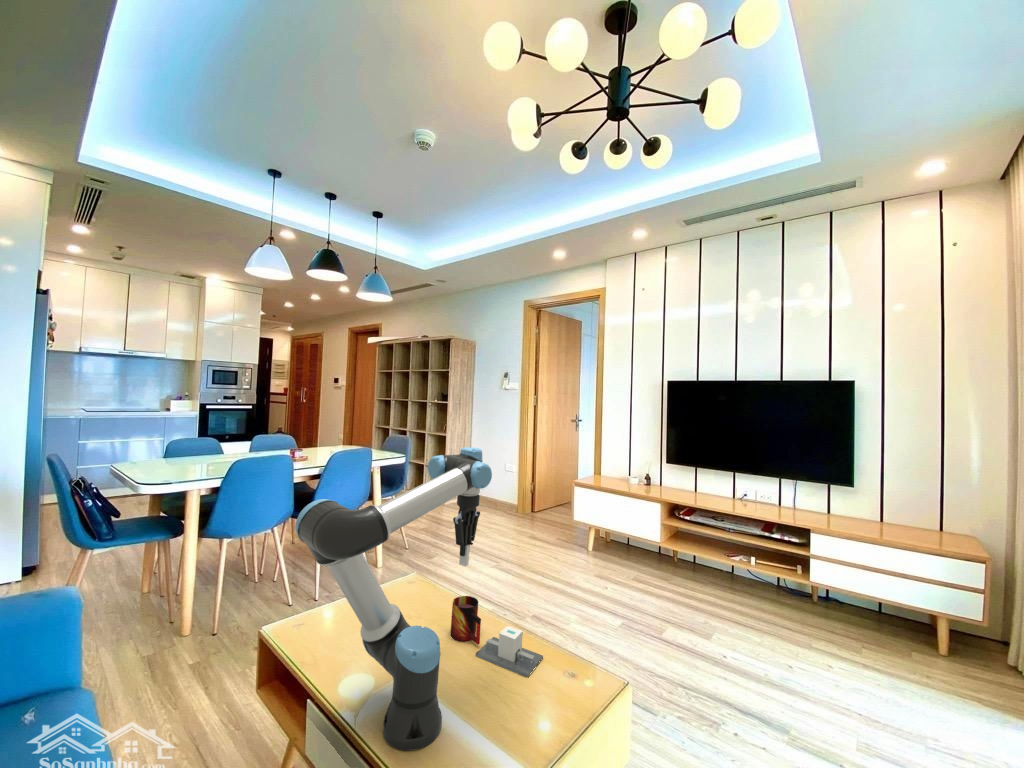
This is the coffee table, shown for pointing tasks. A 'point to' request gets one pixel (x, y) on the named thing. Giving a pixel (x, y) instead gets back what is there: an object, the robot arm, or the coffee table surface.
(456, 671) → the coffee table surface
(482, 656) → the rail plate
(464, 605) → the mug
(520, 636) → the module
